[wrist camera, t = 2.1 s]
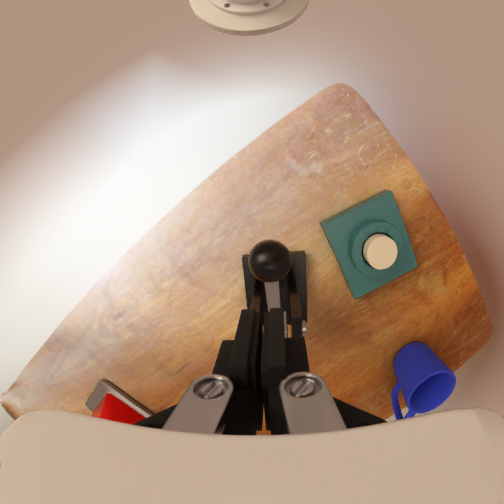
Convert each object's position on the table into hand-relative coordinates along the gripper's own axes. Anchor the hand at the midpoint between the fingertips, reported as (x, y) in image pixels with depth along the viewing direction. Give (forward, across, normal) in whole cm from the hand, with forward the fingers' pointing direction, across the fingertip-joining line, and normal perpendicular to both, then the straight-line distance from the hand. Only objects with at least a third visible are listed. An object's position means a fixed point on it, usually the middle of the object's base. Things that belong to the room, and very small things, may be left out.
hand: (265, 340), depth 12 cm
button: (+23, -13, +3) cm, 27 cm away
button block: (+27, -13, +3) cm, 30 cm away
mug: (+27, -21, +24) cm, 42 cm away
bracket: (+27, 0, +8) cm, 28 cm away
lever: (+15, 0, +3) cm, 15 cm away
